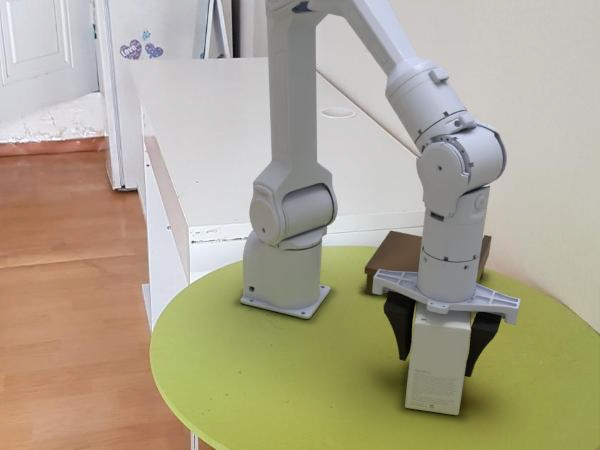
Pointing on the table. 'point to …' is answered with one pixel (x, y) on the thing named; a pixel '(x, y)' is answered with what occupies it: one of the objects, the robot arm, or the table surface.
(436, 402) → the small box
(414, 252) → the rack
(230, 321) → the table surface
